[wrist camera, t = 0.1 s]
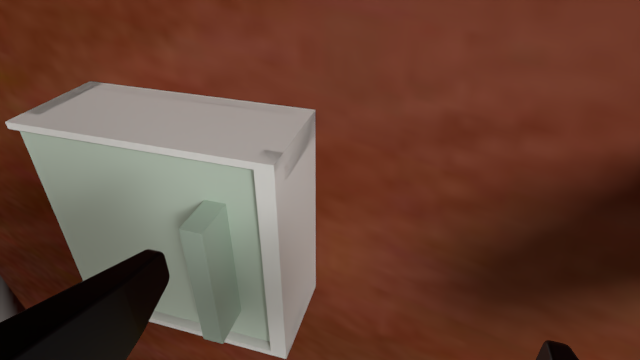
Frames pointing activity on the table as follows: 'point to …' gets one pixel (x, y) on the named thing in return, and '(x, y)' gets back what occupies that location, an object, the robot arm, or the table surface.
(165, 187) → the lid
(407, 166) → the table surface
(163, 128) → the box
